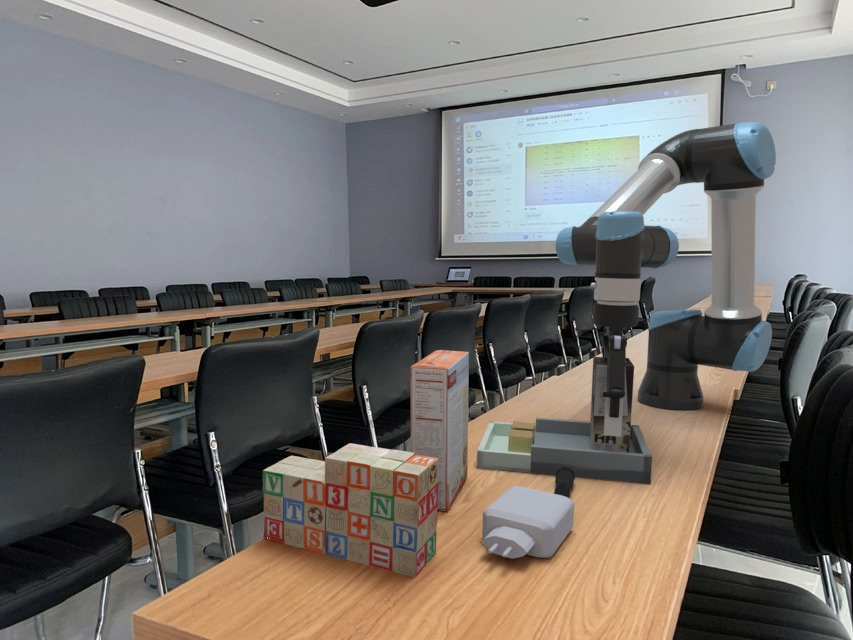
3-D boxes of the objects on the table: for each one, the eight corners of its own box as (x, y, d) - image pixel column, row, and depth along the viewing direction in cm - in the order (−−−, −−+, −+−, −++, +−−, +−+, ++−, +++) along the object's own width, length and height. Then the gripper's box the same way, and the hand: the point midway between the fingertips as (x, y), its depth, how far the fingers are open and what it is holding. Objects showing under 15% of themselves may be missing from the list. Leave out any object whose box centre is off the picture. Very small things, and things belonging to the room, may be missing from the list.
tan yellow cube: (531, 452, 110) (532, 431, 110) (531, 460, 106) (531, 437, 106) (509, 450, 111) (510, 429, 110) (507, 458, 107) (508, 435, 107)
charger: (460, 563, 73) (508, 516, 85) (534, 585, 68) (573, 532, 81) (461, 525, 72) (509, 483, 85) (535, 545, 67) (574, 498, 80)
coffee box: (630, 460, 103) (635, 366, 101) (590, 457, 104) (595, 363, 102) (625, 444, 111) (629, 356, 110) (588, 441, 113) (592, 355, 111)
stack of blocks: (262, 540, 77) (261, 446, 76) (291, 520, 83) (291, 432, 81) (417, 578, 69) (418, 473, 67) (437, 553, 74) (439, 456, 73)
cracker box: (432, 474, 101) (434, 348, 98) (468, 478, 99) (471, 350, 97) (407, 507, 87) (408, 363, 85) (448, 513, 86) (451, 366, 83)
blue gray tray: (637, 448, 115) (638, 425, 115) (650, 484, 98) (652, 457, 97) (535, 439, 120) (536, 417, 119) (530, 472, 102) (531, 446, 101)
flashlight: (574, 485, 98) (575, 467, 97) (568, 530, 82) (569, 508, 81) (555, 483, 98) (556, 465, 98) (545, 527, 83) (546, 505, 82)
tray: (535, 439, 120) (536, 425, 119) (530, 472, 102) (530, 455, 101) (489, 436, 121) (490, 421, 121) (476, 467, 104) (477, 450, 103)
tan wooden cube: (534, 443, 115) (534, 423, 115) (532, 450, 111) (533, 429, 111) (512, 441, 116) (513, 421, 116) (510, 448, 112) (511, 427, 112)
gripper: (590, 296, 117) (585, 405, 120) (596, 308, 93) (590, 444, 96) (631, 298, 116) (625, 408, 118) (648, 310, 92) (640, 448, 94)
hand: (609, 424), depth 107 cm, fingers open, 12 cm apart
